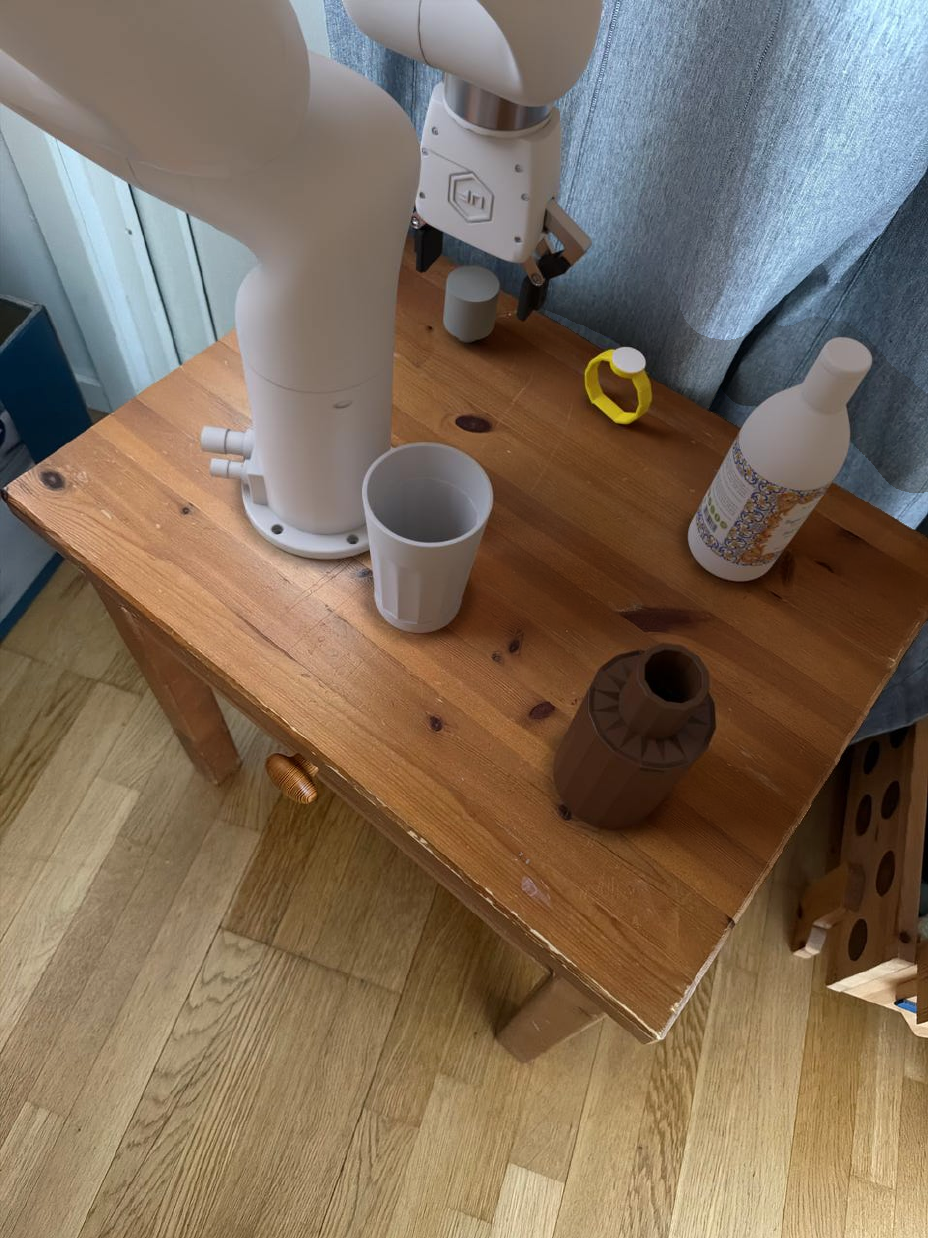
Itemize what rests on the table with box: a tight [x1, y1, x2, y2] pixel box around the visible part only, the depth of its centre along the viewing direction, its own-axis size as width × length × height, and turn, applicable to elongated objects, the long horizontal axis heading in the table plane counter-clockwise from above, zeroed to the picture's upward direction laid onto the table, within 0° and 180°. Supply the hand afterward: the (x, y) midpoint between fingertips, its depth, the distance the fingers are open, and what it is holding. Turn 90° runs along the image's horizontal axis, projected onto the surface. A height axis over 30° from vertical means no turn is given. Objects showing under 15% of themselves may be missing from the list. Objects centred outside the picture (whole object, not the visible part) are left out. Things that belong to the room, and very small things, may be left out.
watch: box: [584, 346, 653, 425], centre depth 73 cm, size 6×3×6 cm, turn 44°
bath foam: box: [687, 336, 873, 582], centre depth 61 cm, size 7×7×20 cm
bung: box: [442, 264, 501, 344], centre depth 76 cm, size 4×4×6 cm
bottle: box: [552, 642, 717, 830], centre depth 53 cm, size 7×7×15 cm
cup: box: [362, 441, 494, 634], centre depth 60 cm, size 8×8×12 cm
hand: (478, 286), depth 75 cm, fingers open, 9 cm apart
